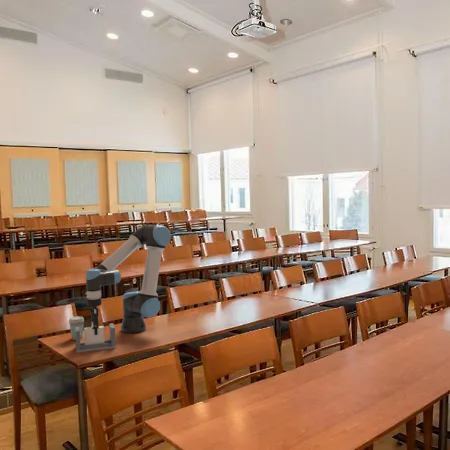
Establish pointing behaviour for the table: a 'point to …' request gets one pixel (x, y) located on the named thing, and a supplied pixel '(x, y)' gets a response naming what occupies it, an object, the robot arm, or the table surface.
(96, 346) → the track
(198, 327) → the table surface
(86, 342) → the block
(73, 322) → the coffee cup
